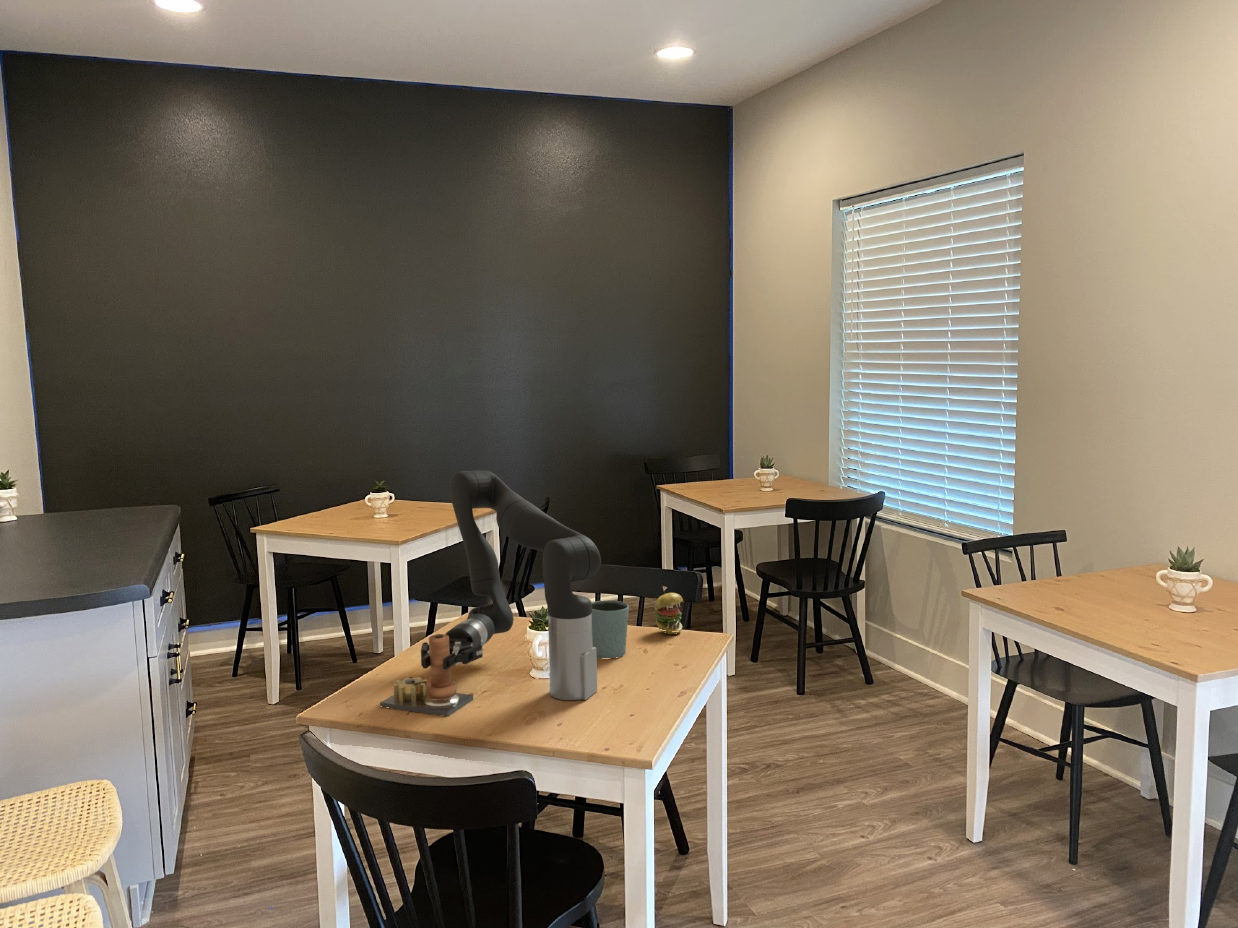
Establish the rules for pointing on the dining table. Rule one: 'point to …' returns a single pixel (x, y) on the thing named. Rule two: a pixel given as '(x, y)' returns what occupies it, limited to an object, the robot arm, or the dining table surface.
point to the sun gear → (410, 689)
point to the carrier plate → (430, 704)
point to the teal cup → (609, 628)
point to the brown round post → (439, 669)
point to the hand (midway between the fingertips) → (434, 664)
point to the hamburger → (668, 612)
